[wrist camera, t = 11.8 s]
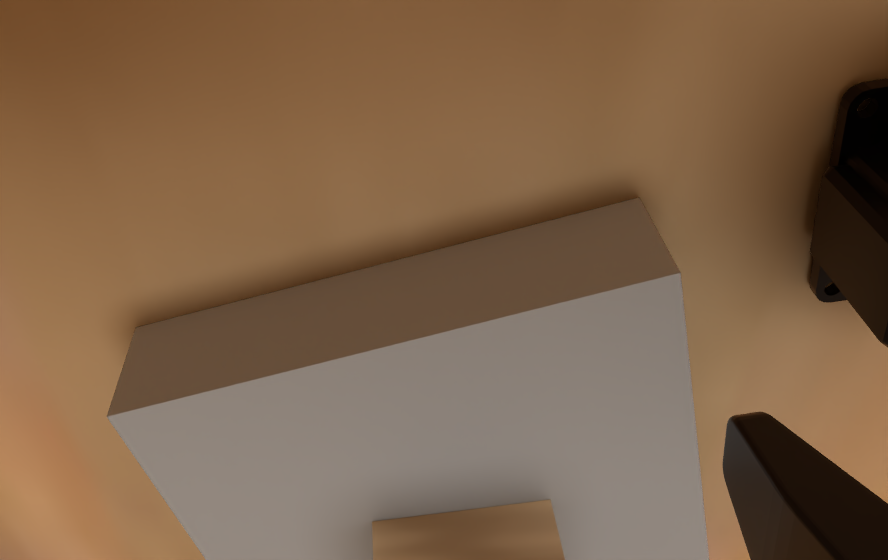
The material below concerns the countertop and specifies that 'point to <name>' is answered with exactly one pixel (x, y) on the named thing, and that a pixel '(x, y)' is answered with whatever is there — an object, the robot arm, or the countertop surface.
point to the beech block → (472, 535)
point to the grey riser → (433, 399)
